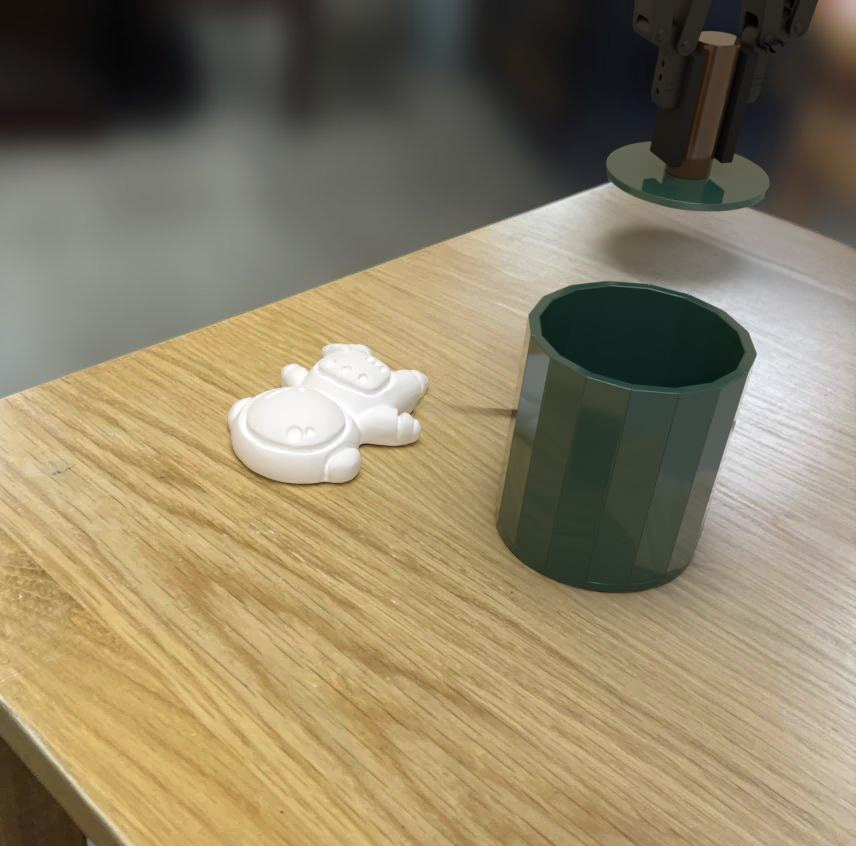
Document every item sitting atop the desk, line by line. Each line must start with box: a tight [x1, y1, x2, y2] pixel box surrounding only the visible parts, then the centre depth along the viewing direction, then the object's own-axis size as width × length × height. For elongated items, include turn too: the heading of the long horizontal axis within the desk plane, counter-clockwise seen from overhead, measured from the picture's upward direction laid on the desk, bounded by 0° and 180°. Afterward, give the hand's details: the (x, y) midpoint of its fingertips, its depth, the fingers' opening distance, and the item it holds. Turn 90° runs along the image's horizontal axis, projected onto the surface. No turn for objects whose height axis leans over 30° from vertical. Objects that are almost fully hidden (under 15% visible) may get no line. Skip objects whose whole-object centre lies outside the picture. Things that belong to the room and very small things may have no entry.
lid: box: [604, 30, 770, 213], centre depth 74 cm, size 10×10×9 cm
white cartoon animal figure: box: [227, 342, 430, 485], centre depth 63 cm, size 9×12×3 cm
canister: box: [495, 280, 758, 593], centre depth 55 cm, size 9×9×10 cm
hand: (690, 155), depth 76 cm, fingers closed on lid, 3 cm apart
